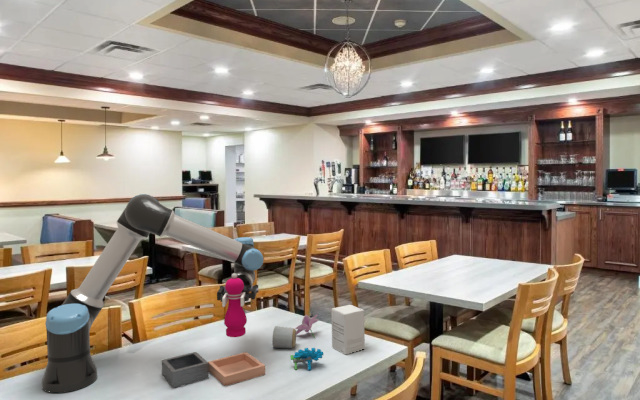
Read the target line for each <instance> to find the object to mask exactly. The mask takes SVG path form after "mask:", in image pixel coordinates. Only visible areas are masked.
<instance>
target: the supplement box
mask: <svg viewBox="0 0 640 400" xmlns="http://www.w3.org/2000/svg"><path fill="white" fill-rule="evenodd" d="M330 312H331V348H332V347H333V348H332V349H334V350H336V351H338V352H339V351H340V352H339V353H341V352H342V354H343V355H345V354H347V355H350V354H349V353H351V354H353V353H352V352H354V353H357V352H356V351H358V352H360V351H359V350H361V351H363V350H362V349H364V350H366V345H365V341H366V340H365V337H366V336H365V309H362V308H359V307H357V306H355V305H353V304H346V305H342V306H337V307H333V308H331V310H330Z"/></svg>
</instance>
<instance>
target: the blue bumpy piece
mask: <svg viewBox="0 0 640 400" xmlns="http://www.w3.org/2000/svg"><path fill="white" fill-rule="evenodd" d="M303 349H304V350H303ZM303 349H298V350H297V351H295V352H294V355H293V354H290V360H291V361H292V363H293V364H294V370H298V364H300V363H307V370H308V371H311V370H312V364H311V363H312V362H313V361H315V362H317V361H319V359H322V358H323V356H324V351H322V349H320V348H317V350H316V348H315V347H311V350H310V349H309V347H305V348H303Z"/></svg>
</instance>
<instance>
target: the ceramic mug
mask: <svg viewBox="0 0 640 400" xmlns="http://www.w3.org/2000/svg"><path fill="white" fill-rule="evenodd" d="M296 331H297V329H295V328H293V327H288V326H278V325H276V326H274V328H273V331H272V341H271V342H272V348H277V349H278V348H279V349H292V348H295V346H296V345H297V335H296Z"/></svg>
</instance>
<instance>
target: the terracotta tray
mask: <svg viewBox="0 0 640 400" xmlns="http://www.w3.org/2000/svg"><path fill="white" fill-rule="evenodd" d="M207 362H208V363H209V374H210V375H211V376H213V377H214V378H215V379H216V380H217V381H218V382H219V383H220V384H221V385H222V386H223V387H228V386H231V385H234V384H238V383H242V382H244V381H248V380H251V379H255V378H258V377H259V378H260V377H262V376H265V375H266V365H265V364H264V363H263V362H261V360H258V359H257V358H256V357H254V356H253V355H251V354H250V353H248V352H247V351H245V352H240V353H237V354H233V355H229V356H224V357H220V358H217V359H213V360H210V361H207Z"/></svg>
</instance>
